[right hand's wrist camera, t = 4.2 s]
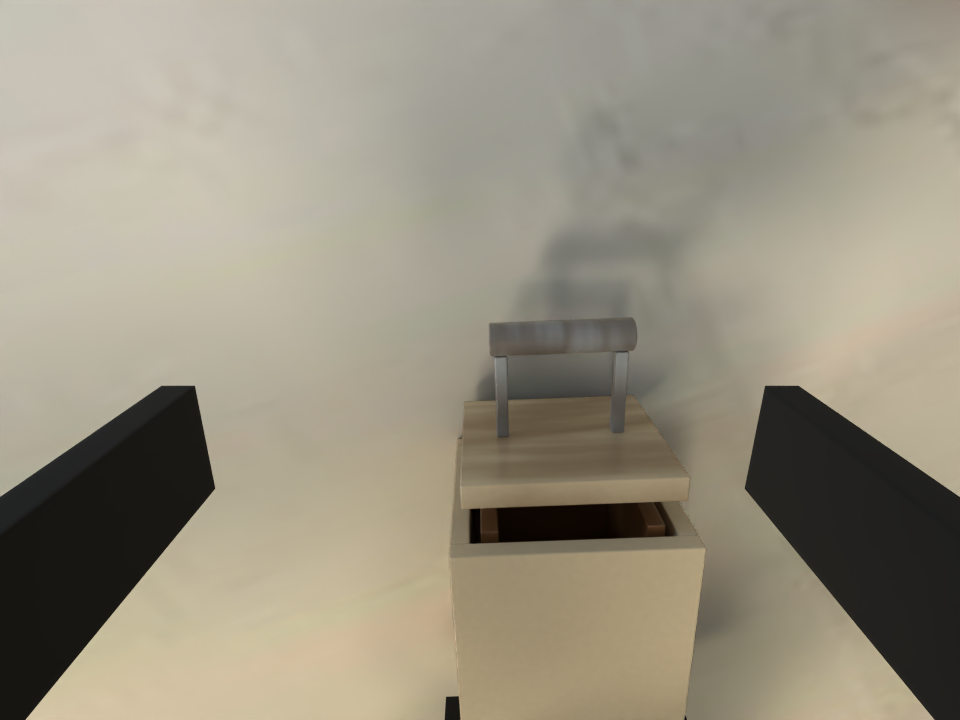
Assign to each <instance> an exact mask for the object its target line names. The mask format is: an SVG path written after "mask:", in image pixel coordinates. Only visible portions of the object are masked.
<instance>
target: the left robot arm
mask: <svg viewBox="0 0 960 720" xmlns="http://www.w3.org/2000/svg"><path fill="white" fill-rule="evenodd" d="M445 720H461V718H460V705H459V696H457V697H446V708H445ZM684 720H687V719H686V716H685V719H684Z"/></svg>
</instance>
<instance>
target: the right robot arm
mask: <svg viewBox="0 0 960 720" xmlns="http://www.w3.org/2000/svg"><path fill="white" fill-rule="evenodd" d="M214 489H215V485H214V480H213V475H212V470H211V465H210V460H209V455H208V450H207V445H206V440H205V435H204V430H203V425H202V420H201V415H200V410H199V405H198V400H197V394H196V389H195V386H161V387H159V388H158V389H156V390H155V391H153V392H152V393H150V394H149V395H148V396H146V397H145V398H143V399H142V400H140V401H139V402H137V403H136V404H135V405H133V406H132V407H130V408H129V409H127V410H126V411H124V412H123V413H121V414H120V415H119V416H117V417H116V418H114V419H113V420H111V421H110V422H108V423H107V424H106V425H104V426H103V427H101V428H100V429H98V430H97V431H95V432H94V433H92V434H91V435H90V436H88V437H87V438H85V439H84V440H82V441H81V442H79V443H78V444H77V445H75V446H74V447H72V448H71V449H69V450H68V451H66V452H65V453H63V454H62V455H61V456H59V457H58V458H56V459H55V460H53V461H52V462H50V463H49V464H48V465H46V466H45V467H43V468H42V469H40V470H39V471H37V472H36V473H34V474H33V475H32V476H30V477H29V478H27V479H26V480H24V481H23V482H21V483H20V484H19V485H17V486H16V487H14V488H13V489H11V490H10V491H8V492H7V493H5V494H4V495H3V496H1V497H0V720H25V719H26V718H27V717H28V716H29V715H30V713H31V712H32V711H33V710H34V709H35V707H36V706H37V705H38V704H39V702H40V701H41V700H42V699H43V698H44V696H45V695H46V694H47V693H48V691H49V690H50V689H51V688H52V687H53V685H54V684H55V683H56V682H57V681H58V679H59V678H60V677H61V676H62V674H63V673H64V672H65V671H66V670H67V668H68V667H69V666H70V665H71V663H72V662H73V661H74V660H75V659H76V657H77V656H78V655H79V654H80V653H81V651H82V650H83V649H84V648H85V646H86V645H87V644H88V643H89V642H90V640H91V639H92V638H93V637H94V635H95V634H96V633H97V632H98V631H99V629H100V628H101V627H102V626H103V625H104V623H105V622H106V621H107V620H108V618H109V617H110V616H111V615H112V614H113V612H114V611H115V610H116V609H117V607H118V606H119V605H120V604H121V603H122V601H123V600H124V599H125V598H126V597H127V595H128V594H129V593H130V592H131V590H132V589H133V588H134V587H135V586H136V584H137V583H138V582H139V581H140V579H141V578H142V577H143V576H144V575H145V573H146V572H147V571H148V570H149V569H150V567H151V566H152V565H153V564H154V562H155V561H156V560H157V559H158V558H159V556H160V555H161V554H162V553H163V552H164V550H165V549H166V548H167V547H168V545H169V544H170V543H171V542H172V541H173V539H174V538H175V537H176V536H177V534H178V533H179V532H180V531H181V530H182V528H183V527H184V526H185V525H186V524H187V522H188V521H189V520H190V519H191V517H192V516H193V515H194V514H195V513H196V511H197V510H198V509H199V508H200V506H201V505H202V504H203V503H204V502H205V500H206V499H207V498H208V497H209V496H210V494H211V493H212V492H213V491H214ZM745 489H746V491H747V492H748V493H749V494H750V496H751V497H752V498H753V499H754V500H755V502H756V503H757V504H758V505H759V506H760V508H761V509H762V510H763V511H764V513H765V514H766V515H767V516H768V517H769V519H770V520H771V521H772V522H773V524H774V525H775V526H776V527H777V528H778V530H779V531H780V532H781V533H782V534H783V536H784V537H785V538H786V539H787V541H788V542H789V543H790V544H791V545H792V547H793V548H794V549H795V550H796V552H797V553H798V554H799V555H800V556H801V558H802V559H803V560H804V561H805V562H806V564H807V565H808V566H809V567H810V569H811V570H812V571H813V572H814V573H815V575H816V576H817V577H818V578H819V579H820V581H821V582H822V583H823V584H824V586H825V587H826V588H827V589H828V590H829V592H830V593H831V594H832V595H833V597H834V598H835V599H836V600H837V601H838V603H839V604H840V605H841V606H842V607H843V609H844V610H845V611H846V612H847V614H848V615H849V616H850V617H851V618H852V620H853V621H854V622H855V623H856V625H857V626H858V627H859V628H860V629H861V631H862V632H863V633H864V634H865V635H866V637H867V638H868V639H869V640H870V642H871V643H872V644H873V645H874V646H875V648H876V649H877V650H878V651H879V653H880V654H881V655H882V656H883V657H884V659H885V660H886V661H887V662H888V663H889V665H890V666H891V667H892V668H893V670H894V671H895V672H896V673H897V674H898V676H899V677H900V678H901V679H902V681H903V682H904V683H905V684H906V685H907V687H908V688H909V689H910V690H911V691H912V693H913V694H914V695H915V696H916V698H917V699H918V700H919V701H920V702H921V704H922V705H923V706H924V707H925V709H926V710H927V711H928V712H929V713H930V715H931V716H932V717H933V718H934V719H935V720H960V497H959V496H957V495H956V494H955V493H953V492H952V491H950V490H949V489H947V488H946V487H944V486H943V485H941V484H940V483H939V482H937V481H936V480H934V479H933V478H931V477H930V476H928V475H927V474H926V473H924V472H923V471H921V470H920V469H918V468H917V467H915V466H914V465H912V464H911V463H910V462H908V461H907V460H905V459H904V458H902V457H901V456H899V455H898V454H897V453H895V452H894V451H892V450H891V449H889V448H888V447H886V446H885V445H883V444H882V443H881V442H879V441H878V440H876V439H875V438H873V437H872V436H870V435H869V434H868V433H866V432H865V431H863V430H862V429H860V428H859V427H857V426H856V425H854V424H853V423H852V422H850V421H849V420H847V419H846V418H844V417H843V416H841V415H840V414H839V413H837V412H836V411H834V410H833V409H831V408H830V407H828V406H827V405H825V404H824V403H823V402H821V401H820V400H818V399H817V398H815V397H814V396H812V395H811V394H810V393H808V392H807V391H805V390H804V389H802V388H801V387H799V386H765V389H764V394H763V400H762V405H761V410H760V415H759V420H758V425H757V430H756V435H755V440H754V445H753V450H752V455H751V460H750V465H749V470H748V475H747V480H746V485H745Z"/></svg>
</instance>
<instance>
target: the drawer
mask: <svg viewBox="0 0 960 720" xmlns="http://www.w3.org/2000/svg"><path fill="white" fill-rule="evenodd" d="M636 343H637V328H636V323H635V321H634V319H633V318H606V319H581V320H556V321H531V322H506V323H489V344H490V356H494V365H495V395H496V400H494V401H468V402H464V418H463V437H462V456H461V474H460V497H461V508H462V509H478V508H480V526H481V543H507V542H535V541H562V540H589V539H617V538H644V537H664V534H665V524H664V522H663V520H662V518H661V516H660V514H659V513H658V511H657V509H656V507H655V505H654V503H653V502H666V501H687V500H688V494H689V485H690V476H689V475H688V473H687V472H686V470H685V469H684V468H683V466H682V465H681V463H680V462H679V460H678V459H677V457H676V456H675V454H674V453H673V452H672V450H671V449H670V447H669V446H668V444H667V443H666V441H665V440H664V438H663V437H662V436H661V434H660V433H659V431H658V430H657V428H656V427H655V425H654V424H653V422H652V421H651V420H650V418H649V417H648V415H647V414H646V412H645V411H644V409H643V408H642V407H641V405H640V404H639V402H638V401H637V399H636V398H635V396H634V395H626V391H627V374H628V356H629V352H628V351H633V350H634V349H635V347H636ZM589 352H613V367H612V388H611V396H597V397H571V398H545V399H519V400H508V369H507V356H513V355H538V354H564V353H589Z"/></svg>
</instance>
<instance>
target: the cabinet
mask: <svg viewBox="0 0 960 720" xmlns="http://www.w3.org/2000/svg"><path fill="white" fill-rule="evenodd" d="M461 456H462V439H457V450H456V464H455V478H454V492H453V506H452V520H451V533H450V548H449V568H450V581H451V595H452V609H453V622H454V636H455V649H456V663H457V676H458V690H459V704H460V717H461V720H684V719H685V711H686V703H687V695H688V687H689V680H690V672H691V664H692V656H693V648H694V641H695V633H696V625H697V617H698V609H699V602H700V594H701V586H702V578H703V570H704V562H705V555H706V547H705V545H704V544H703V542H702V540H701V539H700V537H699V536H698V533H697V532H696V530H695V528H694V527H693V525H692V523H691V522H690V520H689V519H688V517H687V515H686V514H685V512H684V510H683V509H682V507H681V505H680V504H679V502H678V501H666V502H653V503H654V505H655V507H656V509H657V511H658V513H659V514H660V516H661V518H662V520H663V522H664V524H665V534H664V537H644V538H617V539H589V540H562V541H535V542H507V543H481V526H480V508H478V509H462V508H461V497H460V474H461Z"/></svg>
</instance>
